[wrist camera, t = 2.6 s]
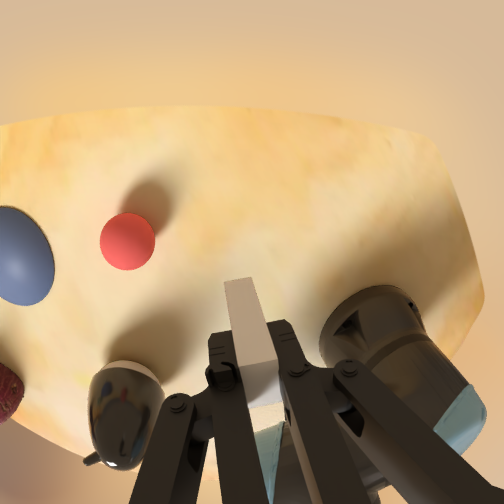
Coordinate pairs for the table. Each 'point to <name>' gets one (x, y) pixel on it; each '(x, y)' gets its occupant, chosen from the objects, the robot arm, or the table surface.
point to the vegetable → (9, 393)
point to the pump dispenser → (122, 414)
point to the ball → (127, 241)
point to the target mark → (23, 259)
